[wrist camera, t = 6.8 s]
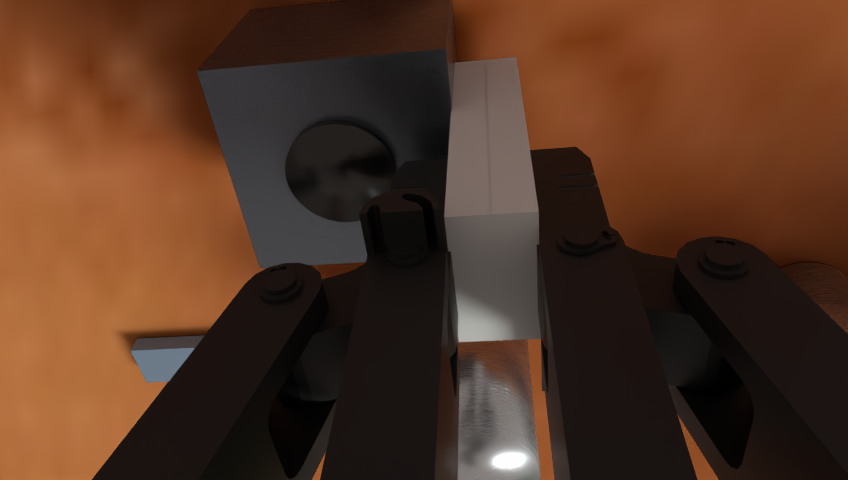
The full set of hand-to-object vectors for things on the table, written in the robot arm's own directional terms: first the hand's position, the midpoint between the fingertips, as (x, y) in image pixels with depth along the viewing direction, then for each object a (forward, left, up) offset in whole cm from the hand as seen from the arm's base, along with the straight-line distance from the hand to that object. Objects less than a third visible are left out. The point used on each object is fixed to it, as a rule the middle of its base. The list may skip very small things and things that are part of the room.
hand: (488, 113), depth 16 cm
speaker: (-3, 0, -1) cm, 3 cm away
